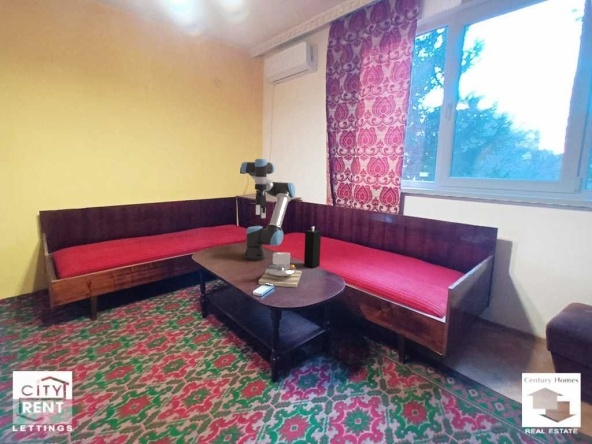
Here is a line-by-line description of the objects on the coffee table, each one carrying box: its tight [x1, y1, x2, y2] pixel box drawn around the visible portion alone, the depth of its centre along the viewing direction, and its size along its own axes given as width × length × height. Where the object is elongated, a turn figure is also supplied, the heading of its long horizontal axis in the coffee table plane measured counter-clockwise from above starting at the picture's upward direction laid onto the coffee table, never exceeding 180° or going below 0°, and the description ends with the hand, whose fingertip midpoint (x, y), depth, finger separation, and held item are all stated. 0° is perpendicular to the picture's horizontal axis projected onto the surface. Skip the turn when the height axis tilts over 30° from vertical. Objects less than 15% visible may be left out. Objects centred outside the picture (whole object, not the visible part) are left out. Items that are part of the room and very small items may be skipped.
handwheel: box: [265, 251, 297, 276], centre depth 175 cm, size 18×18×11 cm
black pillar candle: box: [303, 225, 322, 269], centre depth 200 cm, size 8×8×28 cm
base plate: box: [258, 269, 302, 288], centre depth 177 cm, size 22×22×5 cm
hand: (260, 216), depth 191 cm, fingers open, 13 cm apart
